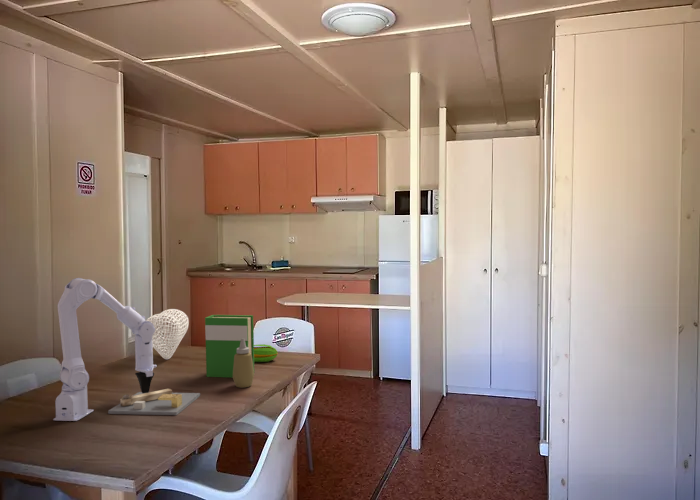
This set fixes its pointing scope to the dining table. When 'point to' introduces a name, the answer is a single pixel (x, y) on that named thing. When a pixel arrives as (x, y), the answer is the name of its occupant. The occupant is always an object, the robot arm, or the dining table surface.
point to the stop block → (139, 404)
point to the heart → (179, 332)
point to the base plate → (156, 406)
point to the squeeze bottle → (243, 366)
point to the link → (143, 397)
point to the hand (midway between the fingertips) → (145, 392)
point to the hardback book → (226, 342)
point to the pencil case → (264, 353)
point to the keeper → (172, 399)
